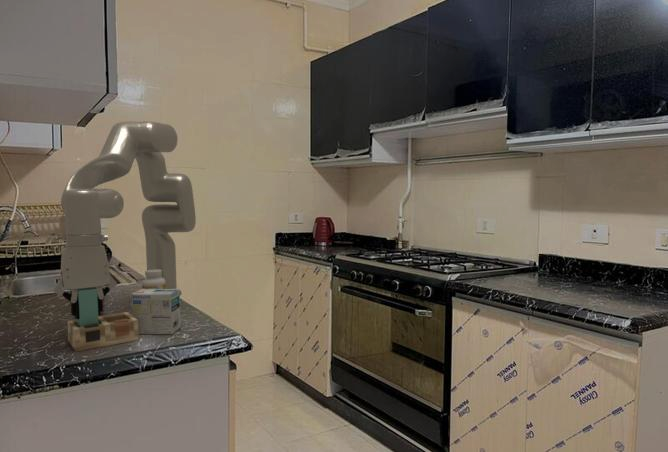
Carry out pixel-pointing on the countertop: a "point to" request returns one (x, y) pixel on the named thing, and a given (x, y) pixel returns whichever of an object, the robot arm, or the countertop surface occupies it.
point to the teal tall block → (87, 307)
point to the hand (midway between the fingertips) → (87, 315)
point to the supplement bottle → (154, 280)
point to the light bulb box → (157, 310)
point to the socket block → (103, 331)
